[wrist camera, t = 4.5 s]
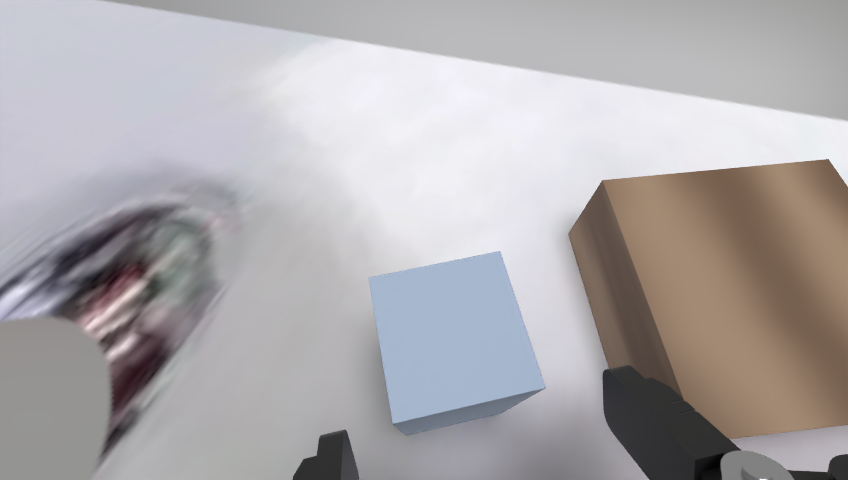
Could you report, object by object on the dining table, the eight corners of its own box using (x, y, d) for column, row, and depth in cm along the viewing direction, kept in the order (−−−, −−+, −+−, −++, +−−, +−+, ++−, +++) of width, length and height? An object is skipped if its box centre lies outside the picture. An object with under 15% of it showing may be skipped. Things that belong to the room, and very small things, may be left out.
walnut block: (630, 445, 21) (699, 442, 15) (567, 235, 26) (602, 180, 21) (857, 418, 21) (1000, 406, 16) (748, 217, 27) (828, 159, 21)
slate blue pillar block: (406, 435, 21) (392, 423, 13) (389, 338, 23) (368, 277, 15) (501, 413, 21) (545, 387, 13) (475, 320, 24) (500, 251, 16)
